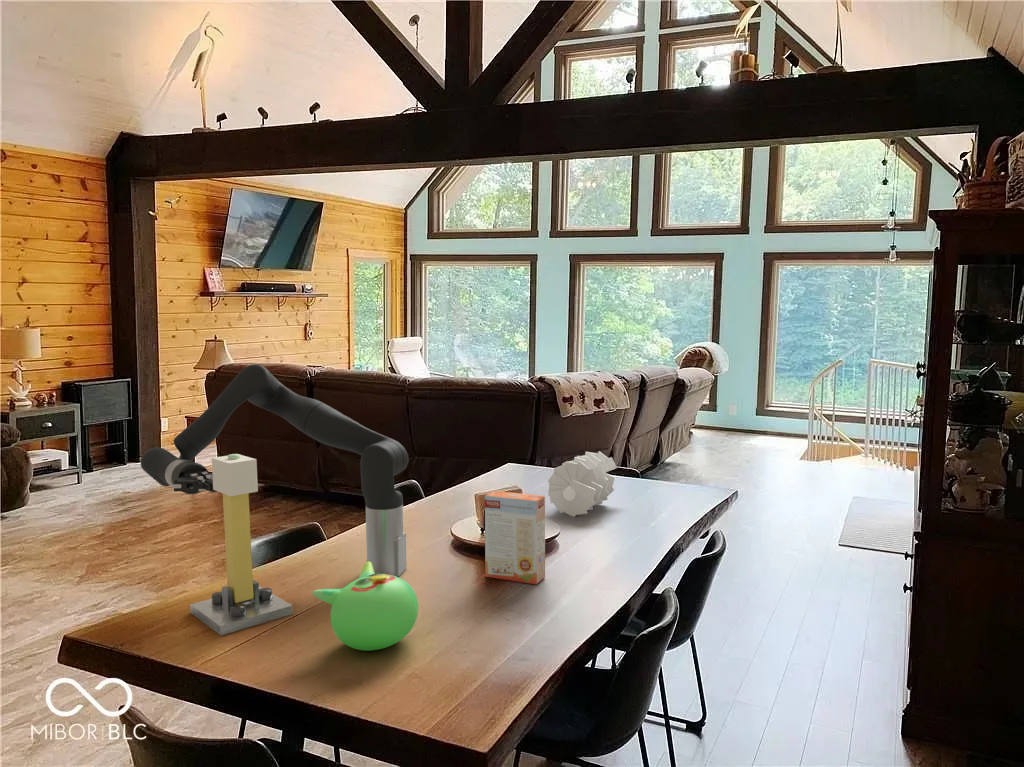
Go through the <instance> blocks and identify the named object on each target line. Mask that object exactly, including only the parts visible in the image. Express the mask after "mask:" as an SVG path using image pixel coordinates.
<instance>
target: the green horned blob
mask: <svg viewBox="0 0 1024 767" xmlns="http://www.w3.org/2000/svg"><path fill="white" fill-rule="evenodd" d="M416 594H417V593H415V590H414V589H413V587H412V586H411V585H410V584H409V583H408V582H407V581H406V580H404V579H402V578H400V576H393V575H388V574H375V573H374V569H373V565H372V563H371V562H370V561H368V562H367V561H366V562H365V563H364V565H363V567H362V569H361V572H360V574H359V576H358V578H357V579H355V580H353V581H351V582H350V583H348V584H347V585H346V586H344V587H343V588H321V589H314V590H313V591H312V595H313V596H314V598H317V599H319V600H321V601H323V602H325V603H327V604H329V605H330V606H331V609H330V615H329V616H330V624H331V627H332V630H333V632H334V634H335V636H336V637H337V638H338V639H339V641H341V642H342V643H343V644H344V645H346V646H347V647H350V648H351V649H354V650H359V651H378V650H382V649H387V648H388V647H391V646H393V645H395V644H397V643H398V642H401V641H402V640H403V639H404V638H405V637H407V635H408V634H409V633H410V632H411V631H412V629H413V628H414V625H415V624H416V622H417V618H418V614H419V601H418V597H417V595H416Z"/></svg>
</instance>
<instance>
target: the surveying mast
mask: <svg viewBox="0 0 1024 767" xmlns="http://www.w3.org/2000/svg"><path fill="white" fill-rule="evenodd" d="M257 460H258V459H257V458H253V457H250V456H245V455H243V454H239V453H232V454H231V453H230V454H227V455H223V456H216V457H212V458H211V470H212V472H211V473H212V474H213V490H216V491H218V492H219V493H222V502H223V503H222V506H223V524H224V525H223V526H224V541H225V542H224V543H225V545H224V546H225V563H226V564H225V565H226V566H225V567H226V580H227V583H226V584H227V585H226V586H227V587H229V588H230V589H232V599H233V605H234V604H243V603H246V602H250V601H252V598H254V596H253V580H254V578H253V575H254V574H253V559H252V555H253V554H252V536H251V535H252V534H251V518H250V515H251V514H250V513H251V512H250V499H249V497H250V496H249V494H251V493H257V492H258V491H259V485H258V484H259V483H258V482H259V481H258V465H257V464H258V462H257Z"/></svg>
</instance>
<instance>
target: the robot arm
mask: <svg viewBox="0 0 1024 767" xmlns="http://www.w3.org/2000/svg"><path fill="white" fill-rule="evenodd" d="M246 401H248V402H249V403H251V404H252V405H254V406H256V407H258V408H261V409H264V410H265V411H268V412H270V413H273V414H274V415H277V416H278V417H281V418H283V419H284V420H285V421H286V422H288V423H289V424H291V425H292V426H293V427H294V428H296V430H298V431H300V432H302V433H303V434H305V435H306V436H308V437H310V438H312V439H313V440H315V441H316V442H319V443H320V444H323V445H327V446H329V447H333V448H337V449H342V450H345V451H350V452H353V453H356V454H358V455H360V456H361V457H360V461H359V462H360V463H359V464H360V466H359V467H360V468H359V469H360V482H361V483H360V485H361V492H362V496H363V498H364V501H365V537H366V538H365V539H366V544H365V545H366V562H368V561H370V562H371V563H372V565H373V569H374V573H375V574H388V575H393V576H396V577H400V576H401V575H402V574H403V573H404V572H405V571H406V570H407V566H408V564H407V532H406V531H404V500H403V499H404V498H403V494H402V492H401V491H400V490H396V488H395V479H394V478H395V477H394V476H396V475H399V474H400V473H402V472H404V471H405V469H406V468H407V466H408V465H409V453H408V452H407V450H406V448H405V446H403V445H402V444H401V443H400V442H399V441H398V440H395V439H394V438H390V437H388V436H386V435H383V434H381V433H379V432H377V431H374V430H372V429H370V428H368V427H365V426H364V425H362V424H361V423H359V422H357V421H355V420H354V419H353V418H351V417H349V416H347V415H345V414H343V413H342V412H340V411H339V410H337V409H335V408H333V407H332V406H330V405H327V404H326V403H324V402H323V401H320V400H318V399H315V398H311V397H306V396H303V395H300V394H297V393H296V392H294V391H292V389H290V388H288V387H286V386H285V385H284V384H283V383H282V382H280V381H279V380H278V379H277V378H276V377H275V376H274V375H273V374H272V372H270V371H269V370H268V369H267V368H266V367H265V366H263V365H262V364H261V365H260V364H249V365H247V366H246V367H244V368H243V369H242V370H240V372H238V373H237V375H235V376H234V378H233V379H232V380H231V381H230V383H229V384H228V385H227V386H226V387H225V388H224V390H222V391H221V393H219V395H218V396H217V397H216V398H215V400H213V402H212V403H211V404H210V405H209V406H208V408H206V410H204V411H203V413H201V415H199V416H198V417H197V418H196V419H195V420H194V421H192V422H191V423H190V424H189V425H188V426H187V427H186V428H184V429H183V430H182V431H181V432H180V433H179V434H178V435H176V436H175V437H174V438H173V444H174V447H175V449H177V451H178V452H179V457H177V456H176V455H175V454H173V453H172V452H170V451H168V450H167V449H165V448H163V447H153V448H151V449H148V450H147V451H146V452H144V454H143V455H142V457H141V458H140V467H141V469H142V471H144V472H145V473H146V474H147V475H148V476H150V477H151V478H152V479H153V480H155V482H157V483H158V484H159V485H160V486H163V487H172V489H173V492H181V493H184V494H186V495H196V494H199V493H201V492H206V491H208V492H209V493H215V492H218V491H216V490H213V474H212V472H209V470H208V469H207V468H206V466H204V465H203V464H201V463H198V462H196V461H194V460H195V458H196V457H197V456H198V455H199V454H200V453H201V452H202V451H203V450H205V449H206V448H207V447H208V446H210V444H212V442H214V440H216V438H217V437H218V436H219V435H220V433H221V432H222V430H223V428H224V427H225V425H226V422H227V421H229V420H228V419H229V418H230V417H231V415H232V414H233V413H234V411H235V410H236V409H237V408H238V407H239V406H241V405H242V404H244V403H245V402H246Z"/></svg>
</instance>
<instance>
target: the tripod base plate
mask: <svg viewBox="0 0 1024 767" xmlns="http://www.w3.org/2000/svg"><path fill="white" fill-rule="evenodd" d="M253 596H254V598H252V601H250V602H246V603H243V604H234V605H233V599H232V589H230V588H229V587H228V586H227V585H224V586H221V591H216V592H213V593H212V594H211V598H208V599H205V600H201V601H197V602H193V603H190V604H189V608H190V609H189V610H190V614H191V613H192V614H191V615H193V616H194V617H195V618H197V619H198V620H200V621H201V622H202V623H203V624H205V625H206V626H207V627H209V628H210V629H211V630H213V631H214V632H215V633H216V634H217V635H219V636H224V635H227V634H228V635H229V634H232V633H234V632H237V631H242V630H245V629H248V628H251V627H254V626H258V625H260V624H265V623H267V622H271V621H275V620H278V619H281V618H284V617H288V616H291V615H293V614H294V613H293V604H291V603H289V602H287V601H285V600H284V599H282V598H280V597H279V596H277V595H276V594H274V593H273V589H272V588H271V587H262V586H260V584H259V582H258V581H256V580H255V579H253Z"/></svg>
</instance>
